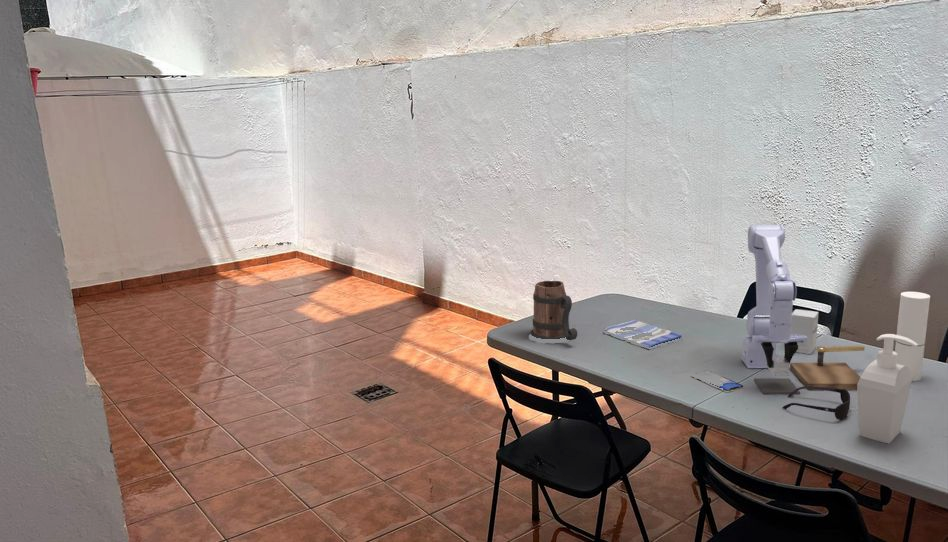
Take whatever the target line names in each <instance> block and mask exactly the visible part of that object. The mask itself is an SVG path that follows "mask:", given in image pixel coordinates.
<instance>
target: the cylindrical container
mask: <svg viewBox="0 0 948 542" xmlns="http://www.w3.org/2000/svg"><path fill="white" fill-rule="evenodd" d="M930 300H931V295H930V294H928V293H925V292H919V291H902V292H901V293H900V299H899V308H898V317H897V318H898V319H897V328H896V335H899V336H903V337H907V338H909V339H911V340H913V341H914V342H916V343H917V344H918V345H917V346H916V347H914V346H912V345H910V344H908V343H905V342H902V341H897V340H895V346H894V347H895V348H894V352H896V353H897V354H898V356H897V364H899V365H903V366H906V367H908V368H909V370H910V372H911V375H912V382H918V381H921V380H922V374H923V373H922V371H923V365H924V364H923V362H924V354H925V345H926V336H927V326H928V320H929V319H928V318H929V309H930V302H931V301H930ZM917 380H918V381H917Z"/></svg>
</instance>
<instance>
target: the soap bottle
mask: <svg viewBox="0 0 948 542" xmlns="http://www.w3.org/2000/svg"><path fill="white" fill-rule="evenodd" d="M881 340H884V341H883V349H882V350H878V352H877V358H876V359H874V360H873V361H871V362H870V363H869V364H868V365H867V367H865V369H864V371H863V373H862V375H861V376H860V379H859V382H858V384H857V390H856V391H857V411H858V414H857V415H858V416H857V417H858V436H860V437H864V438H867V439H870V440H874V441H877V442H881V443H885V444H888V445H890V443H892V441H893V440H894V439H895V438H896V437H897V436H898V434H900V433H901V431H902V430H901V429H902V425H903V420H904V416H905V412H906V409H907V403H908V398H909V394H910V390H911V386H912V382H913V381H912V375H911V372H910V370H909V368H908V367H906V366H903V365H899V364H897V356H898V354H897V353H896V352H895V351H894V343H895V341H896V340H897V341H902V342H905V343H908V344H910V345H912V346H914V347H916V346H917V345H918V344H917V343H916V342H914V341H913V340H911V339H909V338H907V337H903V336H899V335H897V334H894V333H885V334H881V335H879V336H878V337H876V341H881Z"/></svg>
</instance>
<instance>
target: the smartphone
mask: <svg viewBox="0 0 948 542" xmlns="http://www.w3.org/2000/svg"><path fill="white" fill-rule="evenodd" d="M710 372H711V373H712V371H710ZM722 377H723V378H722V379H720V380H722V381H724V382H726V383H720V384H723V386H718V385H715V386H717V387H719V388H723V390H725V391H731V390H736V389H739V390H741V389H740V388H742V389H744V388H743V387H745V386H744V385H743V384H740V383H738V382H736V381H733V380H731V379H730V378H726V377H724V376H722ZM709 381H710V380H709ZM718 383H719V382H718ZM710 384H711V383H710ZM712 385H714V384H712ZM736 391H737V390H736Z"/></svg>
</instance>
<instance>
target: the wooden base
mask: <svg viewBox="0 0 948 542" xmlns="http://www.w3.org/2000/svg"><path fill="white" fill-rule="evenodd" d="M824 356H825V352H824V353H820V352H817V362H790V364H789V370H790V371H791V372H792V373H793V374H794V376H795V377H796V378H797V379H798V380H799V382H800V383H801V384H802V385H803V387H805V386H814V387H828V388H837V389H845V390H847V391H857V384H858V382H859V379H860V377H861V376H860V375H859V374H858V373H857V372H856V371H855V370H854V369H853V368H852V367H850V366H849V364H847V363H846V362H824ZM806 390H807V391H820V390H819V389H806Z"/></svg>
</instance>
